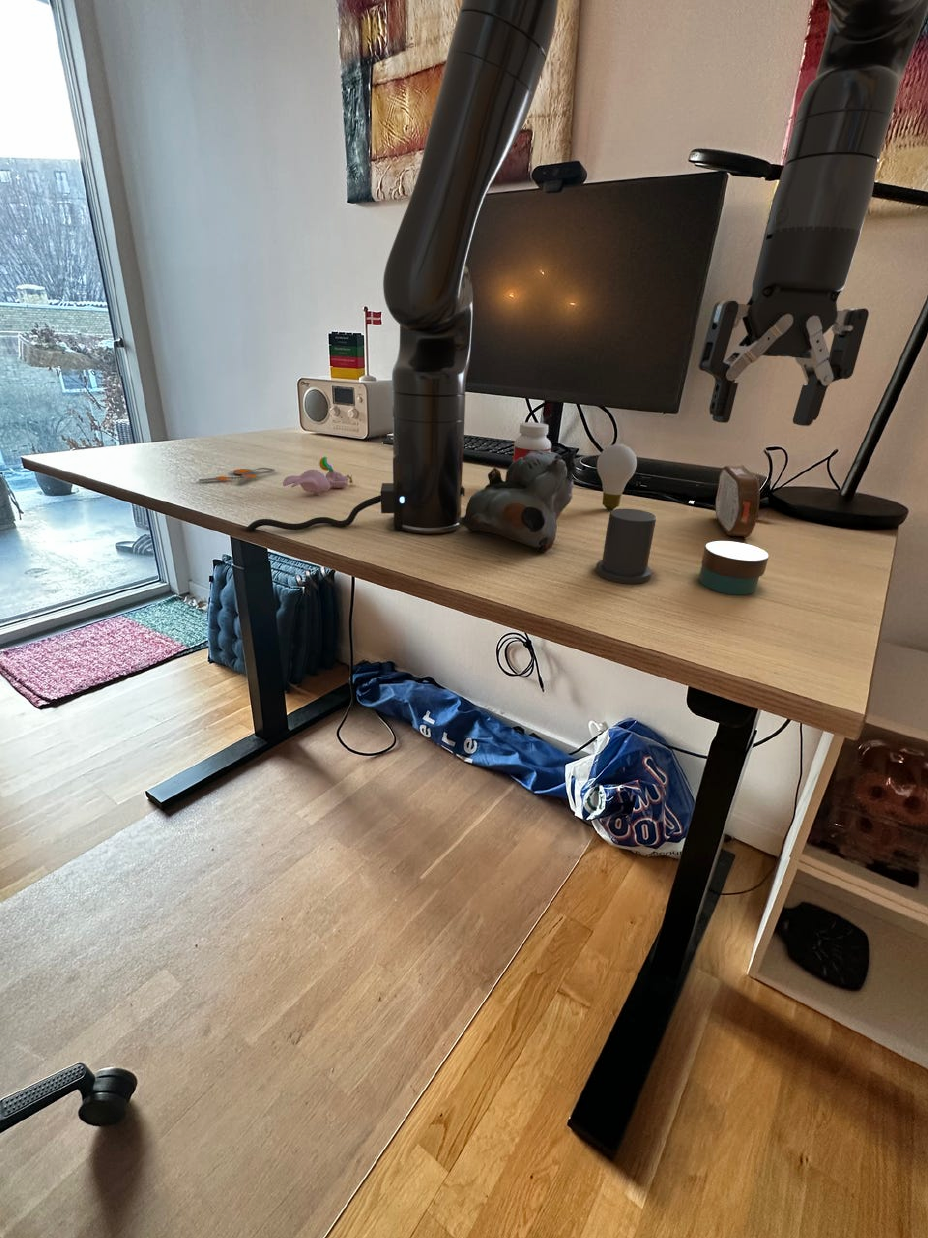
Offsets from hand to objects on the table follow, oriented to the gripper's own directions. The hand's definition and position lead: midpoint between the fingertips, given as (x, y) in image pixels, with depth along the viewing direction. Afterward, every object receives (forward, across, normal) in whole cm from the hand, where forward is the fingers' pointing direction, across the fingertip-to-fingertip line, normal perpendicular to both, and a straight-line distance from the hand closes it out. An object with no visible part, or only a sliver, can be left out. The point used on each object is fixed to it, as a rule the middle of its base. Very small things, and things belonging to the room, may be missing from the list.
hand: (760, 423), depth 58 cm
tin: (+17, -12, -21) cm, 29 cm away
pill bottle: (+18, +15, -40) cm, 46 cm away
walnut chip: (+15, -1, 0) cm, 15 cm away
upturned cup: (+17, +10, -2) cm, 20 cm away
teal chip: (+17, -1, 0) cm, 17 cm away
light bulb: (+18, +4, -30) cm, 35 cm away
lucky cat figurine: (+18, +21, -14) cm, 31 cm away
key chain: (+18, +65, -46) cm, 81 cm away
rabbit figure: (+18, +50, -36) cm, 64 cm away
